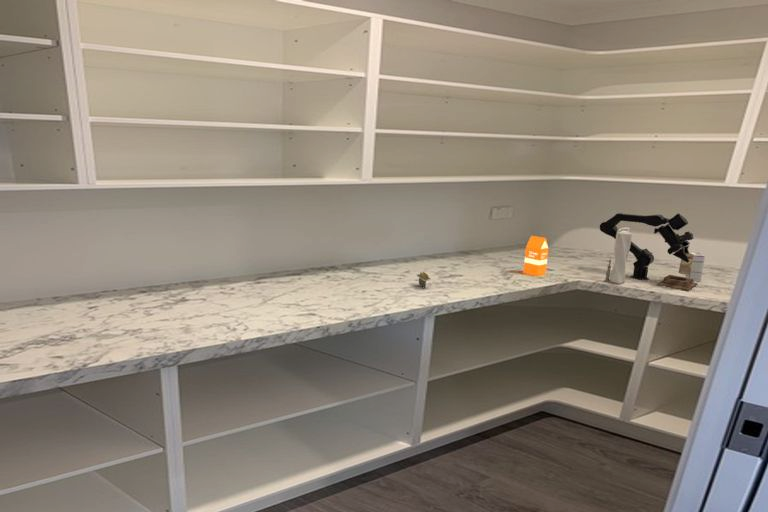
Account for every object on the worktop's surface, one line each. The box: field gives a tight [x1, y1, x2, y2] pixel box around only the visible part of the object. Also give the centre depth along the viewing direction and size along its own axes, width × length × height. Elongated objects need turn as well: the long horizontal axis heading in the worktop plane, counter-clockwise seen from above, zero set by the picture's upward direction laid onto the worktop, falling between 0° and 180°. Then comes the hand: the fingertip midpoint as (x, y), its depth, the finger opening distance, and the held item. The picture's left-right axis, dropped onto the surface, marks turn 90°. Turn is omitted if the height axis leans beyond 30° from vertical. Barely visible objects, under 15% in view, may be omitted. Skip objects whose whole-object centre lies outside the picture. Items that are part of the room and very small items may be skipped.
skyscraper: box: [604, 227, 633, 285], centre depth 250 cm, size 8×8×28 cm
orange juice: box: [523, 235, 549, 277], centre depth 262 cm, size 8×9×20 cm
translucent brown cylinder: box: [678, 252, 694, 276], centre depth 248 cm, size 5×5×10 cm
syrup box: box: [685, 252, 706, 282], centre depth 263 cm, size 6×6×14 cm
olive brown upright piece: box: [416, 271, 432, 289], centre depth 231 cm, size 12×18×7 cm, turn 18°
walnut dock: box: [656, 274, 699, 292], centre depth 252 cm, size 14×18×4 cm
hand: (689, 261), depth 247 cm, fingers closed on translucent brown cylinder, 5 cm apart
